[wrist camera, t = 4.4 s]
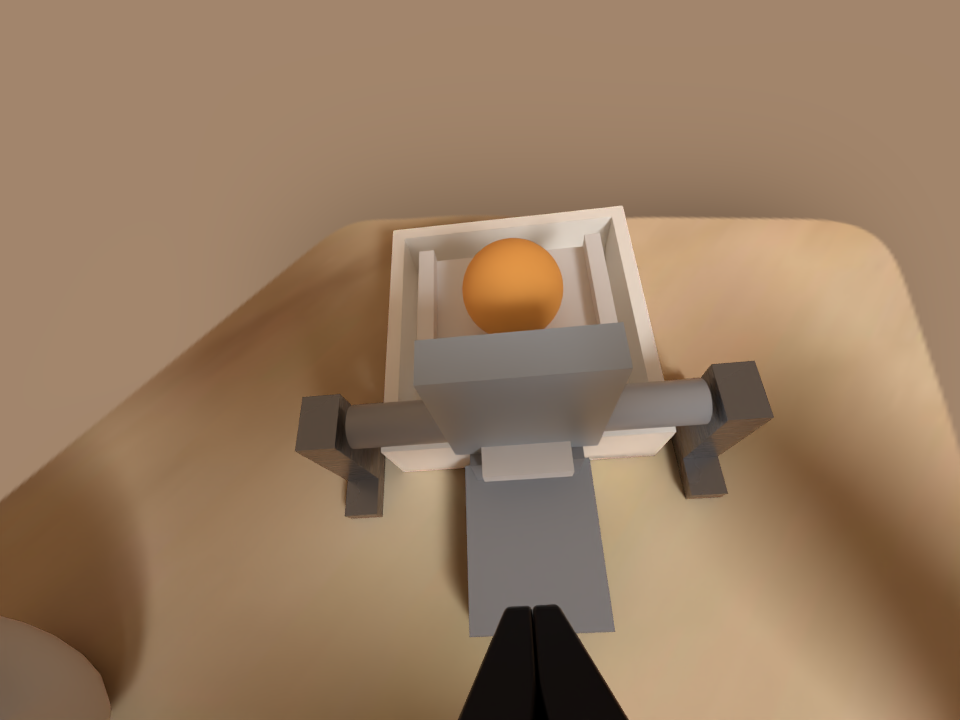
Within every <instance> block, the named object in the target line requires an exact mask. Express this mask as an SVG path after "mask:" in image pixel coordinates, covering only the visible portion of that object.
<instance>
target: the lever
mask: <svg viewBox="0 0 960 720" xmlns="http://www.w3.org/2000/svg"><path fill="white" fill-rule="evenodd" d="M546 251H547V252H549V254H550V255H551V256H552V257H553V258H554V260H555V261H556V263H557V265H558V267H559V269H560V271H561V275H562V279H563V298H562V302H561V305H560V308H559V310H558V312H557V314H556V316H555V317H554V319H553V320H552V321H551V322H550V324H549V325H548V326H546V327H545V328H544V329H539V330H528V331H516V332H505V333H494V334H488V333H486V332H485V331H483V330H482V329H481V328H480V327H478V326H477V325H476V324H475V322H474V321H473V320H472V319H471V317H470V315H469V314H468V312H467V310H466V307H465V304H464V300H463V293H462V287H463V279H464V275H465V272H466V269H467V267H468V265H469V263H470V262H471V260H472V259H473V258H463V259H453V260H443V261H437V259H436V255H435V252H434V250H431V251H421V252H419V288H418V333H417V340H415V342H414V382H413V386H414V388H415V389H416V391H417V393H418V394H419V396H420V397H421V399H422V400H411V401H398V402H385V403H372V404H359V405H351V406H350V407H349V408H348V411H347V414H346V422H345V429H346V437H347V441H348V443H349V445H350V447H351V448H352V449H362V448H376V447H391V446H405V445H419V444H433V443H447V442H448V443H449V445H450V447H451V448H452V450H453V451H454V453H455V455H465V454H470V465H469V466H465V481H466V519H467V557H468V594H469V632H470V637H486V636H494V633H495V631H496V628H497V626H498V624H499V621H500V619H501V617H502V614H503V612H504V610H505V609H506V608H507V607H510V606H529V607H531V609H532V614H533V607H534V606H535V605H547V604H556V605H558V606H559V607H560V608H561V609H562V611H563V613H564V614H565V616H566V618H567V619H568V621H569V622H570V624H571V626H572V627H573V629H574V631H575V632H576V633H594V632H615V628H614V621H613V614H612V607H611V601H610V594H609V587H608V580H607V574H606V567H605V560H604V553H603V546H602V540H601V533H600V526H599V519H598V513H597V506H596V499H595V492H594V486H593V479H592V472H591V465H590V459H589V458H585V457H584V450H583V446H597V445H598V444H599V442H600V440H601V437H602V435H603V433H604V431H618V430H632V429H646V428H660V427H674V426H689V425H703V424H708V423H709V422H710V420H711V417H712V398H711V393H710V390H709V387H708V385H707V383H706V382H705V380H704V379H702V378H692V379H679V380H667V381H654V382H641V383H628V384H626V383H627V380H628V378H629V376H630V374H631V372H632V369H633V365H632V361H631V356H630V351H629V346H628V341H627V337H626V332H625V327H624V322H618V321H617V316H616V311H615V306H614V301H613V296H612V291H611V286H610V281H609V276H608V271H607V266H606V261H605V256H604V251H603V247H602V242H601V237H600V233H595V234H585V235H584V240H583V246H581V247H571V248H561V249H551V250H546Z"/></svg>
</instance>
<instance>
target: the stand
mask: <svg viewBox="0 0 960 720" xmlns="http://www.w3.org/2000/svg"><path fill="white" fill-rule="evenodd" d="M701 378H702V379H704V380H705V382H706V383H707V385H708V387H709V390H710V393H711V398H712V417H711V420H710V422H709V423H708V424H703V425H689V426H675V427H676V433H675V434H674V435H673V436H672V441H673V445H674V450H675V454H676V458H677V462H678V467H679V471H680V475H681V480H682V484H683V488H684V493H685V497H686V499H694V498H711V497H721V496H724V495H726V494H728V492H727V489H726V485H725V481H724V478H723V474H722V470H721V467H720V463H719V459H718V456H719V455H721V454H722V453H723V452H725V451H726V450H728V449H729V448H731V447H732V446H733V445H735V444H736V443H738V442H739V441H741V440H742V439H743V438H745V437H746V436H748V435H749V434H751V433H752V432H754V431H755V430H756V429H758V428H759V427H761V426H762V425H764V424H765V423H766V422H768V421H769V420H771V419H772V418H774V416H773V414H772V411H771V408H770V405H769V402H768V399H767V396H766V393H765V390H764V387H763V384H762V381H761V378H760V375H759V372H758V369H757V367H756V364H755V361H747V362H734V363H722V364H712V365H711V366H710V367H709V368H708V369H707V371H706V372H705V373H704V374H703V376H702V377H701ZM350 406H351V404H350V403H349V402H348V401H347V400H345V399H344V398H343V397H342V396H341V395H340V394H335V395H323V396H311V397H303V398H302V405H301V413H300V420H299V427H298V434H297V441H296V448H295V451H296V452H297V453H299V454H301V455H303V456H305V457H306V458H308V459H310V460H312V461H314V462H315V463H317V464H319V465H321V466H323V467H324V468H326V469H328V470H330V471H332V472H333V473H335V474H337V475H339V476H341V477H342V478H344V479H346V480H348V485H347V497H346V509H345V516H346V517H349V518H369V517H382V515H383V496H384V476H385V455H383V454H382V453H381V447H376V448H362V449H352V448H351V447H350V445H349V443H348V441H347V437H346V429H345V422H346V414H347V411H348V408H349V407H350Z"/></svg>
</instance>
